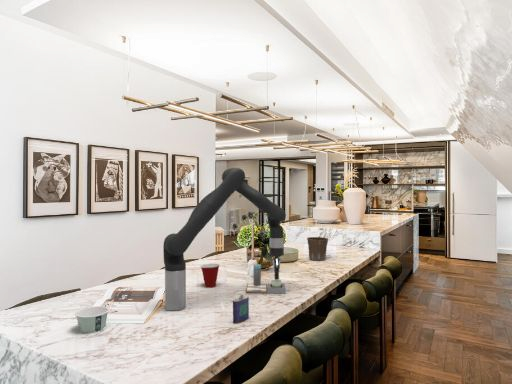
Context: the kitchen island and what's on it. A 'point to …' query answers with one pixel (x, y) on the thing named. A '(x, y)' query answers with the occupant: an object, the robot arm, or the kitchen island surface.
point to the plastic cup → (210, 274)
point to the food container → (92, 318)
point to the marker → (257, 275)
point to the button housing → (276, 289)
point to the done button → (276, 283)
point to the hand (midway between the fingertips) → (276, 279)
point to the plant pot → (317, 248)
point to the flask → (240, 309)
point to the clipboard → (256, 289)
